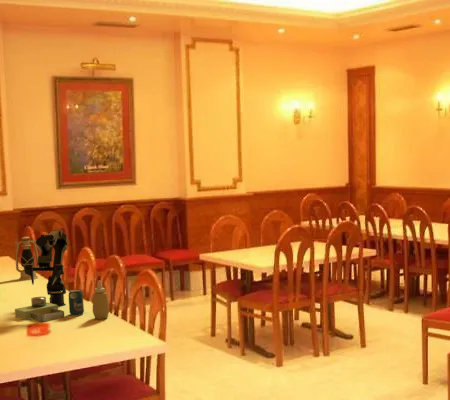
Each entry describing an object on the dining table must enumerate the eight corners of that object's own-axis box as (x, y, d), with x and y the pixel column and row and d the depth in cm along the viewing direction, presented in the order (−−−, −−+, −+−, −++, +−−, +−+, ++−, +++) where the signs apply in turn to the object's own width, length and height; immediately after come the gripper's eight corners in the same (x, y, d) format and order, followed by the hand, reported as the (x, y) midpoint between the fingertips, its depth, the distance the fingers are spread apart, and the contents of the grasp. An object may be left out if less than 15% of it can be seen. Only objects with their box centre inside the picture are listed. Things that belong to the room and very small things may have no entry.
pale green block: (47, 310, 368) (47, 294, 367) (58, 312, 361) (57, 297, 360) (15, 317, 356) (14, 301, 355) (25, 319, 348) (24, 303, 348)
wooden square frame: (52, 314, 358) (52, 308, 358) (64, 317, 351) (64, 311, 350) (30, 318, 350) (30, 312, 350) (42, 321, 342) (41, 315, 342)
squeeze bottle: (113, 316, 347) (111, 279, 346) (103, 320, 340) (101, 282, 338) (99, 315, 350) (97, 279, 349) (89, 319, 343) (87, 282, 342)
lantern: (17, 281, 459) (14, 234, 456) (16, 278, 470) (13, 232, 468) (40, 278, 463) (37, 232, 461) (39, 276, 474) (36, 230, 472)
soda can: (77, 316, 351) (75, 292, 350) (66, 315, 354) (65, 291, 353) (87, 313, 356) (85, 289, 356) (76, 312, 360) (75, 288, 359)
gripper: (24, 248, 352) (20, 276, 343) (63, 248, 354) (60, 276, 345) (27, 259, 361) (23, 287, 352) (65, 260, 363) (62, 287, 354)
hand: (42, 284), depth 351 cm, fingers open, 9 cm apart
